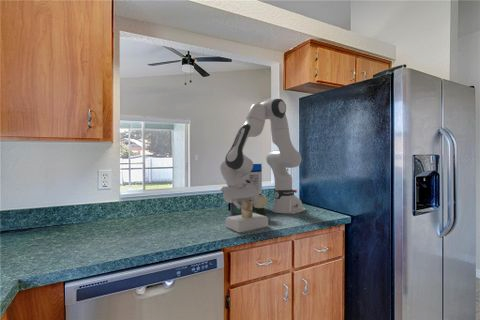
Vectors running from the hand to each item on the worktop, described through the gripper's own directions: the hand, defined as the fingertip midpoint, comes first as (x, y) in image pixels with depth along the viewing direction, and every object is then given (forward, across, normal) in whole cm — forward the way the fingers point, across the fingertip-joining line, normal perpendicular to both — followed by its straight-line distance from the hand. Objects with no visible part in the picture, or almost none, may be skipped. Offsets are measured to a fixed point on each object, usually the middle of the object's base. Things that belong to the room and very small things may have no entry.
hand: (247, 206), depth 137 cm
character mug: (+1, +16, +14) cm, 21 cm away
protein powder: (-19, +26, +34) cm, 46 cm away
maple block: (+3, 0, +4) cm, 5 cm away
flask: (-7, +8, +22) cm, 25 cm away
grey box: (+7, 0, +8) cm, 10 cm away
